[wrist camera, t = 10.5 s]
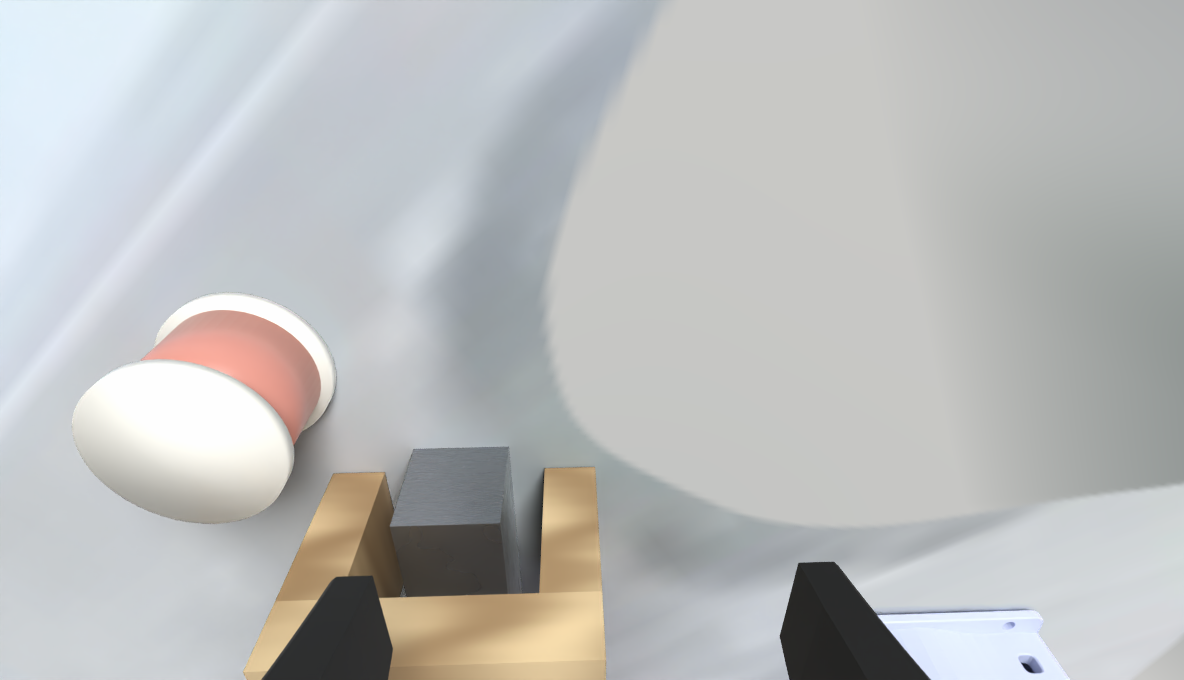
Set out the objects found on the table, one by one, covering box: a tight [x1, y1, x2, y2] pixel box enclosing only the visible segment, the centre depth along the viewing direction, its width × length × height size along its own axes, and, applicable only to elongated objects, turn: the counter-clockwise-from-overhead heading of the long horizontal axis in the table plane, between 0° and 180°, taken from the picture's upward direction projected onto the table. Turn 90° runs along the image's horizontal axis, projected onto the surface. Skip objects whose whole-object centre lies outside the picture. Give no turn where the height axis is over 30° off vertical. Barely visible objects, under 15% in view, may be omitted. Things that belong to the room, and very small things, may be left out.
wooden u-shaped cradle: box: [243, 467, 606, 680], centre depth 20 cm, size 9×5×7 cm, turn 90°
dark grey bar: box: [390, 447, 522, 597], centre depth 24 cm, size 3×16×4 cm, turn 0°
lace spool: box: [72, 292, 336, 524], centre depth 17 cm, size 5×5×4 cm
